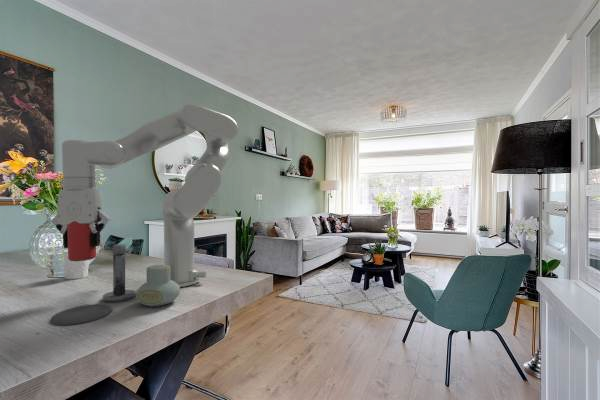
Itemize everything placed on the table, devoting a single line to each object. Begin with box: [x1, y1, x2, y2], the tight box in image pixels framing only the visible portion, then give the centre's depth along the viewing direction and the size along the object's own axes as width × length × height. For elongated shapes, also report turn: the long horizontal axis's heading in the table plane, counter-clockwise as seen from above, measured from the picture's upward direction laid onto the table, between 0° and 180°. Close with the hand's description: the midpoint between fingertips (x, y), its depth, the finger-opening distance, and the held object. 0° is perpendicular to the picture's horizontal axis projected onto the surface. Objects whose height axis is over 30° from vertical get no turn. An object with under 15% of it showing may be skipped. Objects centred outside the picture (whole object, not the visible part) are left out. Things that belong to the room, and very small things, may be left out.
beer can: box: [67, 221, 97, 261], centre depth 88 cm, size 7×7×12 cm
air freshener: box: [135, 264, 181, 308], centre depth 84 cm, size 11×8×10 cm
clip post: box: [102, 253, 136, 304], centre depth 88 cm, size 8×8×13 cm
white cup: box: [62, 248, 90, 280], centre depth 111 cm, size 8×8×10 cm
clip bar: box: [112, 237, 133, 255], centre depth 96 cm, size 22×3×2 cm, turn 22°
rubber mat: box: [50, 303, 113, 326], centre depth 75 cm, size 12×12×1 cm
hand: (82, 246), depth 88 cm, fingers closed on beer can, 6 cm apart
